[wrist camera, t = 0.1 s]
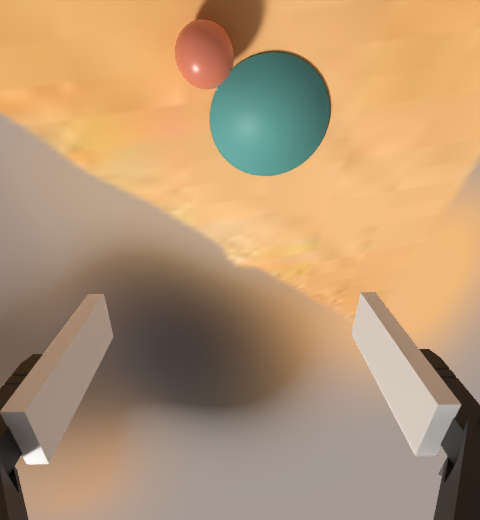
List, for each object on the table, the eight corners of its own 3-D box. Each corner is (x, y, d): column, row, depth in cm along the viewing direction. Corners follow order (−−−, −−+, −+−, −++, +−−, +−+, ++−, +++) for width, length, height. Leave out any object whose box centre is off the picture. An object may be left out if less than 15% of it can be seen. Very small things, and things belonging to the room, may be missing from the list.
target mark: (279, 16, 29) (279, 16, 29) (351, 123, 37) (352, 124, 36) (185, 120, 36) (184, 121, 36) (262, 193, 43) (262, 194, 43)
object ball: (204, -1, 28) (200, 7, 24) (244, 50, 31) (246, 65, 27) (167, 48, 31) (158, 62, 27) (208, 91, 34) (205, 109, 30)
